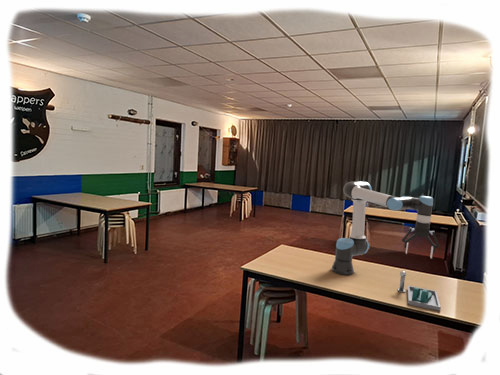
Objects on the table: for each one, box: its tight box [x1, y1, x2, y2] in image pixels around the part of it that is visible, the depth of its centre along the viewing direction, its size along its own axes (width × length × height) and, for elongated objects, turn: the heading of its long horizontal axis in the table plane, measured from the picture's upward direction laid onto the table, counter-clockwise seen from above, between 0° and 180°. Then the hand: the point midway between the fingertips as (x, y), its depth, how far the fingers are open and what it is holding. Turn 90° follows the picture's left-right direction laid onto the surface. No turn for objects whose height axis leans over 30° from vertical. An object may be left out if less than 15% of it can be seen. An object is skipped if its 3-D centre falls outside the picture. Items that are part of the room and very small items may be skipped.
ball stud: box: [397, 270, 407, 293], centre depth 205 cm, size 4×4×13 cm
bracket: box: [412, 286, 432, 303], centre depth 194 cm, size 18×7×8 cm, turn 137°
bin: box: [406, 285, 442, 312], centre depth 195 cm, size 16×24×2 cm, turn 156°
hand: (418, 255), depth 201 cm, fingers open, 13 cm apart
